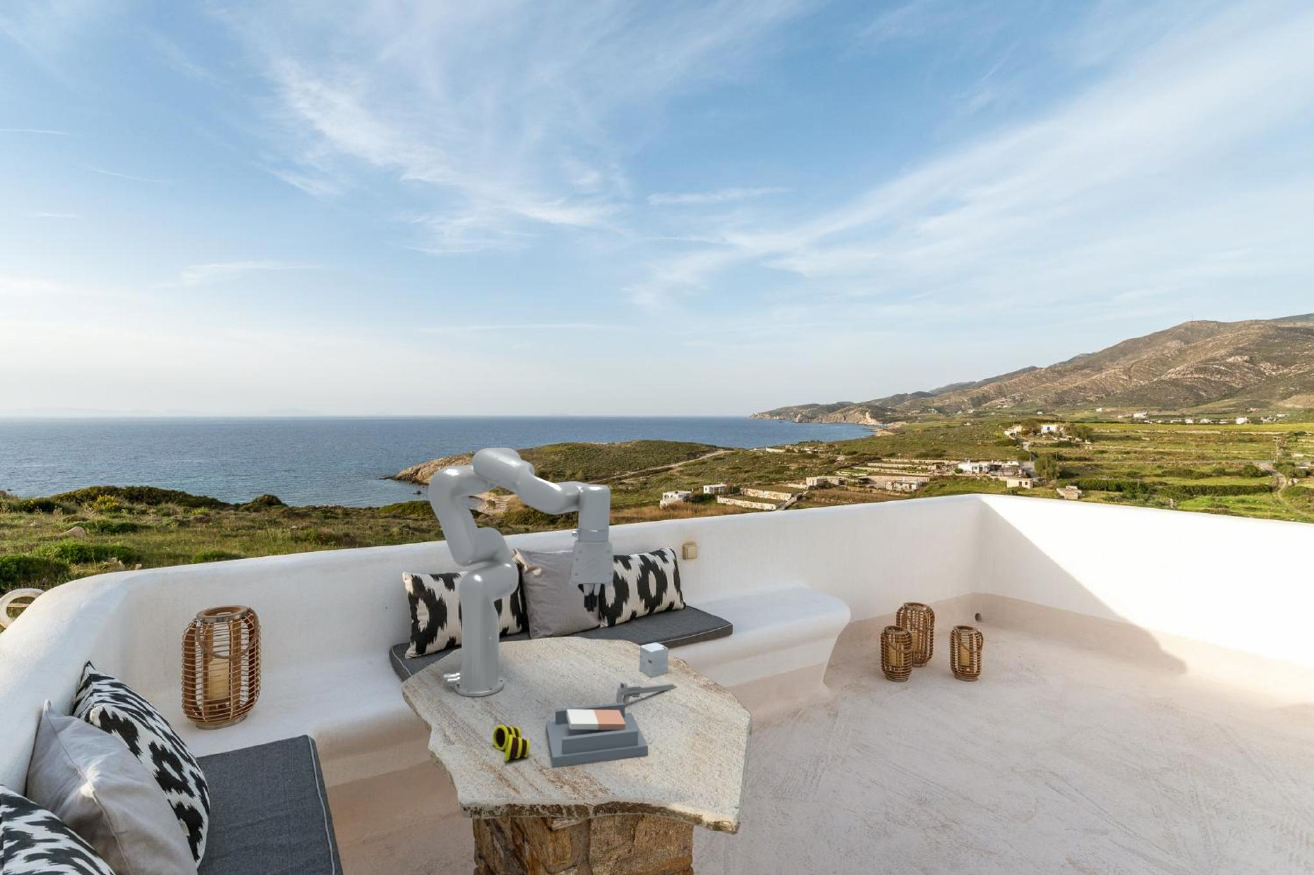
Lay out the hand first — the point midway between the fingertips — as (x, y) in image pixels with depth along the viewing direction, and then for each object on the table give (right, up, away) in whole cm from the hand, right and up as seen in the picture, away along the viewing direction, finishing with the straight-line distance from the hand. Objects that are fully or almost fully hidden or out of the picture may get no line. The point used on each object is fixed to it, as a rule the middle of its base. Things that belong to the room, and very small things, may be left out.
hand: (590, 610), depth 150 cm
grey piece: (+3, -25, -14) cm, 29 cm away
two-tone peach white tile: (+3, -21, -14) cm, 25 cm away
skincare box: (+15, -25, +26) cm, 40 cm away
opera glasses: (-15, -25, -19) cm, 35 cm away
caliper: (+14, -26, +9) cm, 31 cm away
